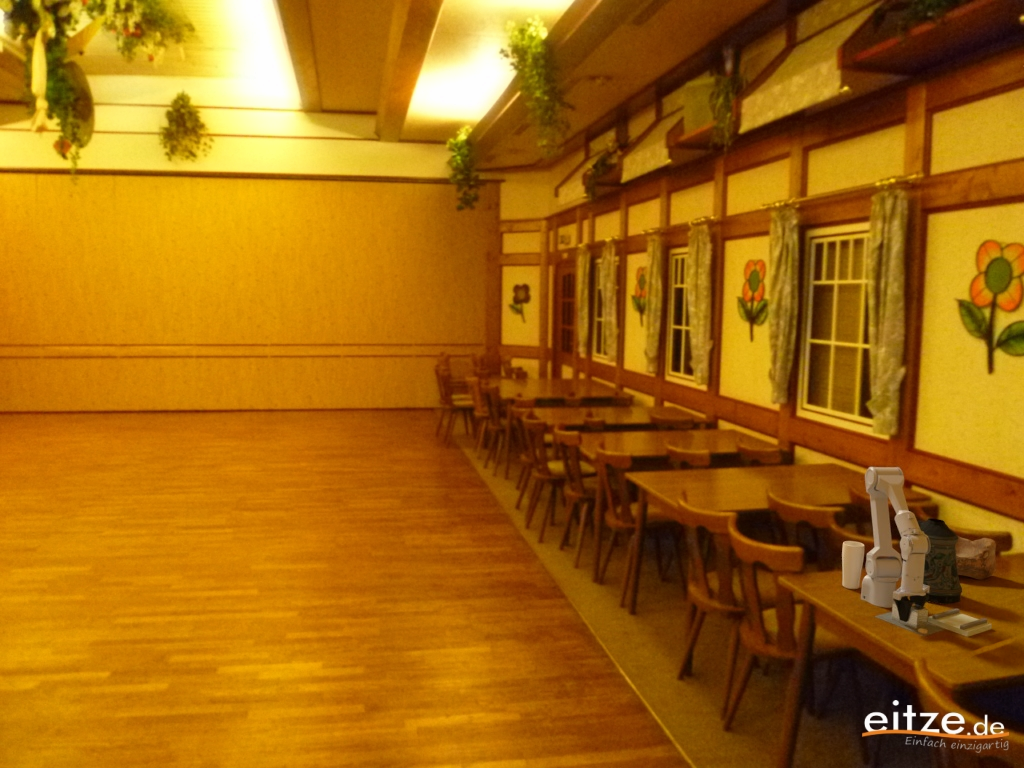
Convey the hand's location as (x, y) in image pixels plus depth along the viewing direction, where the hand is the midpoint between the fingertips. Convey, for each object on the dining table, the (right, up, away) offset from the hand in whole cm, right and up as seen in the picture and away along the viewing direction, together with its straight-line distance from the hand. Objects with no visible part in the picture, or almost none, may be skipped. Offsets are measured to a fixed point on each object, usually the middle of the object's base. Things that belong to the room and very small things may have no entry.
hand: (909, 619), depth 239 cm
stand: (+14, -3, -1) cm, 15 cm away
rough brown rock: (+40, +2, +49) cm, 63 cm away
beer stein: (+20, 0, +28) cm, 34 cm away
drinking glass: (-4, +1, +33) cm, 33 cm away
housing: (0, -1, 0) cm, 1 cm away
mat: (0, -2, 0) cm, 2 cm away
